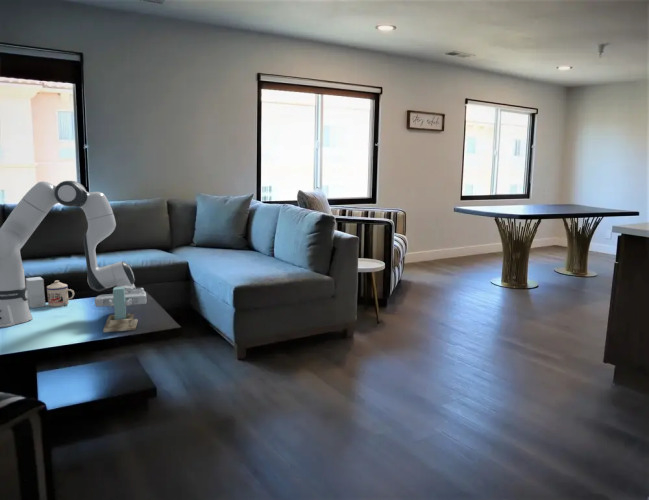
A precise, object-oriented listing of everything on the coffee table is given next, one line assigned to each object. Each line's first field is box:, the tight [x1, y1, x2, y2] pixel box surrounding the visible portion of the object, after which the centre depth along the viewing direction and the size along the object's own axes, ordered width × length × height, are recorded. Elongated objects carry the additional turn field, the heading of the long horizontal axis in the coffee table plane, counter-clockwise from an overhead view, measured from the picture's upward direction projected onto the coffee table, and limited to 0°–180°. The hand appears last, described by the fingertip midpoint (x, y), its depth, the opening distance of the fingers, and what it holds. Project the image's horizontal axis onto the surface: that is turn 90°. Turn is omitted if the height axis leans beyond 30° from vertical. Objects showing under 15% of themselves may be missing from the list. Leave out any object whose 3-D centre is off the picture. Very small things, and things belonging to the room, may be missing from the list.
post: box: [112, 286, 127, 320], centre depth 208 cm, size 4×4×14 cm
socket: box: [102, 312, 138, 333], centre depth 209 cm, size 12×12×4 cm
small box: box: [25, 276, 46, 309], centre depth 240 cm, size 8×6×13 cm
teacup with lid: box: [46, 279, 75, 308], centre depth 242 cm, size 12×9×12 cm
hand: (119, 304), depth 207 cm, fingers closed on post, 4 cm apart
